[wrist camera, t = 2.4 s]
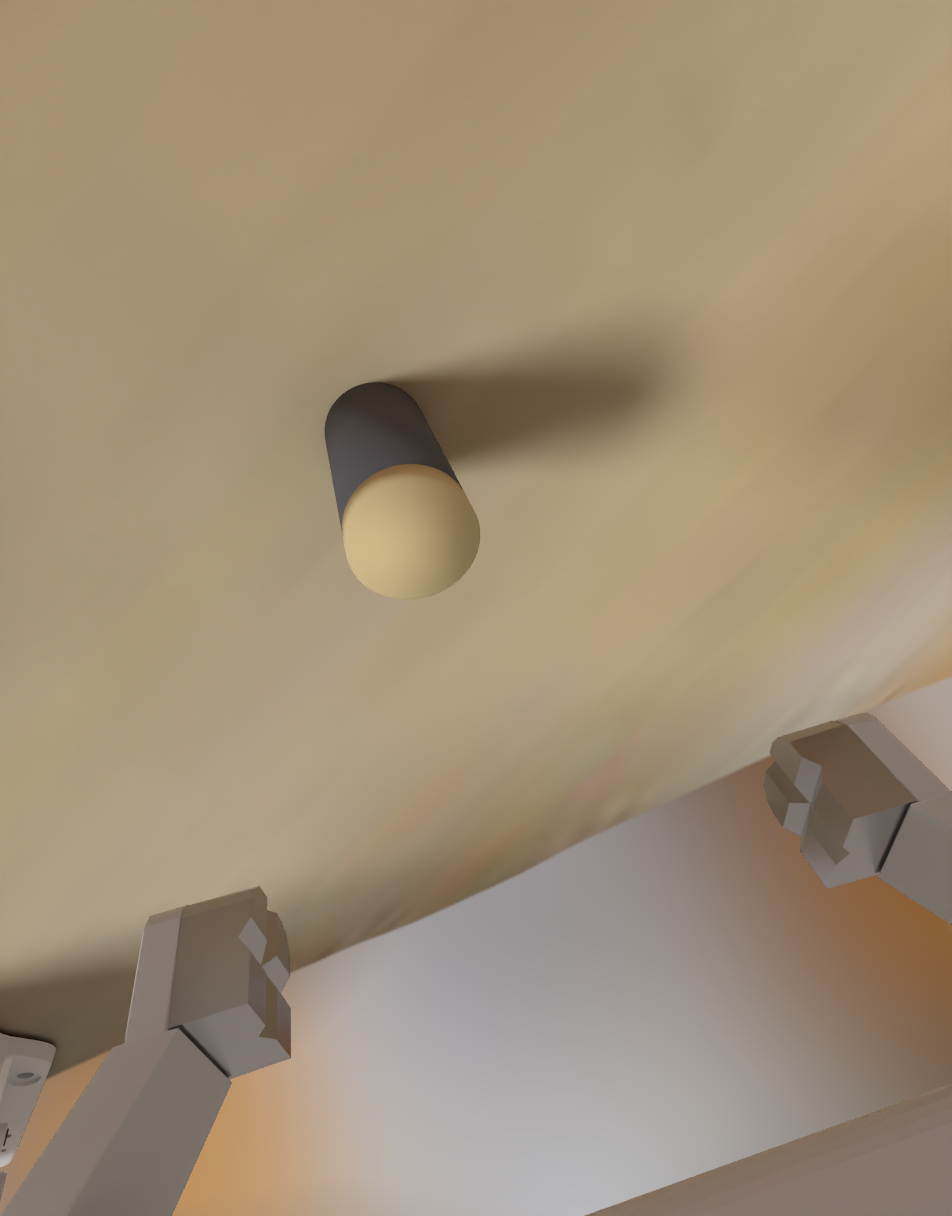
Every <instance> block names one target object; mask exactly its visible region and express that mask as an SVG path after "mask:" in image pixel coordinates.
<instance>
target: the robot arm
mask: <svg viewBox="0 0 952 1216" xmlns="http://www.w3.org/2000/svg"><path fill="white" fill-rule="evenodd" d="M770 754H771V755H772V757H773V758H774V759H775V761H774V763H773V764H772V765H771V766H770V767H769V768H768V769H767V770H766V773H765V779H764V789H765V793H766V797H767V801H768V803H769V805H770V807H771V809H772V811H773V813H774V815H775V816H776V818H777V819H778V821H779V822H780V824H781V825H782V826H783V827H784V828H785V829H787V830H789V831H791V832H793V833H795V834H797V835H799V836H800V837H801V843H800V844H801V845H800V847H801V848H800V852H801V853H802V854H803V856H804V857H805V859H806V860H807V861H808V863H809V864H810V865H811V867H812V868H813V870H814V871H815V872H816V874H817V875H818V877H819V878H820V879H821V881H822V882H823V883H824V885H825V886H826V888H827V889H829V888H832V887H836V886H839V885H843V884H846V883H850V882H853V881H857V880H860V879H864V878H867V877H871V876H874V875H878V874H879V876H878V878H880V879H881V880H882V881H884V882H886V883H887V884H889V885H890V886H892V887H893V888H895V889H897V890H898V891H900V892H901V893H903V894H904V895H906V896H907V897H909V898H911V899H912V900H914V901H915V902H917V903H918V904H920V905H922V906H923V907H925V908H926V909H928V910H929V911H931V912H932V913H934V914H936V915H937V916H939V917H940V918H942V919H943V920H945V921H946V922H948V923H950V924H951V925H952V791H950V790H949V789H948V788H947V787H946V786H945V785H944V784H943V783H942V782H941V781H940V780H939V779H938V778H937V777H936V776H935V775H934V774H933V773H932V772H931V771H930V770H929V769H928V768H927V767H925V765H924V764H923V763H922V762H921V761H920V760H919V759H918V758H917V757H916V756H914V755H913V753H911V752H910V751H909V750H908V749H907V748H906V747H905V746H904V745H903V744H902V743H901V742H900V741H899V740H898V739H897V738H896V737H895V736H894V735H893V734H892V733H891V732H890V731H889V730H888V729H887V728H886V727H885V726H884V725H883V724H882V723H881V722H880V721H879V720H878V719H877V718H876V717H874V716H872V715H870V714H868V713H860V714H856V715H853V716H849V717H846V718H843V719H840V720H836V721H830V722H827V723H823V724H820V725H817V726H813V727H810V728H807V729H804V730H800V731H797V732H794V733H791V734H787V735H784V736H781V737H778V738H777V739H776V740H774V741H773V742H772V746H771V750H770ZM289 977H290V959H289V950H288V943H287V937H286V933H285V930H284V927H283V924H282V921H281V920H280V918H279V916H278V915H277V913H275V912H272V911H268V910H267V896H266V895H265V894H264V892H263V891H262V889H261V888H260V886H257V887H254V888H250V889H247V890H243V891H239V892H236V893H232V894H229V895H225V896H221V897H218V898H214V899H211V900H207V901H203V902H200V903H196V904H192V905H187V906H183V907H180V908H176V909H173V910H170V911H166V912H163V913H159V914H156V915H152V916H150V917H149V919H148V921H147V923H146V925H145V928H144V930H143V934H142V940H141V946H140V951H139V957H138V963H137V969H136V975H135V981H134V987H133V993H132V999H131V1005H130V1011H129V1017H128V1022H127V1028H126V1034H125V1040H124V1044H121V1045H118V1046H115V1047H113V1048H112V1049H111V1051H110V1052H109V1054H108V1055H107V1057H106V1058H105V1060H104V1061H103V1063H102V1064H101V1066H100V1067H99V1069H98V1070H97V1072H96V1073H95V1075H94V1076H93V1078H92V1079H91V1081H90V1082H89V1084H88V1085H87V1087H86V1088H85V1090H84V1091H83V1093H82V1094H81V1096H80V1097H79V1099H78V1100H77V1102H76V1103H75V1105H74V1106H73V1108H72V1109H71V1111H70V1112H69V1114H68V1115H67V1117H66V1118H65V1120H64V1121H63V1123H62V1124H61V1126H60V1127H59V1129H58V1130H57V1132H56V1133H55V1135H54V1136H53V1138H52V1139H51V1141H50V1142H49V1144H48V1145H47V1147H46V1148H45V1150H44V1151H43V1153H42V1154H41V1156H40V1157H39V1159H38V1160H37V1162H36V1163H35V1165H34V1166H33V1168H32V1169H31V1171H30V1172H29V1174H28V1175H27V1177H26V1178H25V1180H24V1181H23V1183H22V1184H21V1186H20V1187H19V1189H18V1190H17V1192H16V1193H15V1195H14V1196H13V1198H12V1199H11V1201H10V1202H9V1204H8V1205H7V1207H6V1208H5V1210H4V1211H3V1213H2V1214H1V1216H172V1214H173V1212H174V1210H175V1208H176V1205H177V1203H178V1201H179V1199H180V1197H181V1194H182V1192H183V1190H184V1188H185V1185H186V1183H187V1181H188V1179H189V1177H190V1174H191V1172H192V1170H193V1168H194V1165H195V1163H196V1161H197V1159H198V1156H199V1154H200V1152H201V1150H202V1148H203V1145H204V1143H205V1141H206V1139H207V1137H208V1134H209V1132H210V1130H211V1128H212V1126H213V1123H214V1121H215V1119H216V1117H217V1114H218V1112H219V1110H220V1108H221V1106H222V1103H223V1101H224V1099H225V1097H226V1095H227V1092H228V1090H229V1088H230V1086H231V1081H230V1080H229V1079H232V1078H235V1077H237V1076H241V1075H243V1074H246V1073H249V1072H252V1071H255V1070H258V1069H260V1068H264V1067H266V1066H269V1065H272V1064H275V1063H278V1062H281V1061H284V1060H287V1059H290V1058H291V1016H290V1014H291V1012H290V1011H291V1010H290V1007H289V1005H288V1004H287V1002H286V1001H285V999H284V998H283V996H282V995H281V991H282V990H283V988H284V986H285V984H286V982H287V981H288V979H289ZM55 1053H56V1048H55V1046H53V1045H51V1044H49V1043H46V1042H42V1041H37V1040H32V1039H25V1038H19V1037H12V1036H8V1035H5V1034H2V1033H0V1167H3V1166H5V1165H7V1164H9V1163H10V1162H11V1161H12V1159H13V1157H14V1155H15V1153H16V1151H17V1148H18V1146H19V1143H20V1141H21V1138H22V1136H23V1133H24V1131H25V1129H26V1126H27V1124H28V1121H29V1118H30V1116H31V1114H32V1112H33V1109H34V1107H35V1104H36V1102H37V1099H38V1097H39V1094H40V1092H41V1090H42V1087H43V1085H44V1082H45V1080H46V1077H47V1075H48V1072H49V1070H50V1067H51V1065H52V1062H53V1059H54V1056H55ZM6 1175H7V1173H4V1172H0V1199H1V1196H2V1192H3V1188H4V1183H5V1179H6ZM585 1216H952V1084H950V1085H947V1086H944V1087H941V1088H938V1089H936V1090H933V1091H930V1092H927V1093H925V1094H922V1095H919V1096H916V1097H913V1098H911V1099H908V1100H905V1101H902V1102H900V1103H897V1104H894V1105H891V1106H888V1107H886V1108H883V1109H880V1110H878V1111H875V1112H872V1113H869V1114H866V1115H863V1116H861V1117H858V1118H855V1119H852V1120H849V1121H847V1122H844V1123H841V1124H838V1125H836V1126H833V1127H830V1128H827V1129H825V1130H822V1131H819V1132H816V1133H813V1134H811V1135H808V1136H805V1137H802V1138H800V1139H797V1140H794V1141H791V1142H789V1143H786V1144H783V1145H780V1146H777V1147H774V1148H772V1149H769V1150H766V1151H763V1152H761V1153H758V1154H755V1155H752V1156H750V1157H747V1158H744V1159H741V1160H738V1161H736V1162H733V1163H730V1164H727V1165H724V1166H722V1167H719V1168H716V1169H713V1170H711V1171H708V1172H705V1173H702V1174H699V1175H697V1176H694V1177H691V1178H688V1179H686V1180H683V1181H680V1182H677V1183H675V1184H672V1185H669V1186H666V1187H663V1188H660V1189H658V1190H655V1191H652V1192H650V1193H647V1194H644V1195H641V1196H638V1197H635V1198H633V1199H630V1200H627V1201H624V1202H621V1203H619V1204H616V1205H613V1206H610V1207H608V1208H605V1209H602V1210H599V1211H596V1212H594V1213H591V1214H588V1215H585Z"/></svg>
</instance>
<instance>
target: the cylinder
mask: <svg viewBox="0 0 952 1216" xmlns="http://www.w3.org/2000/svg"><path fill="white" fill-rule="evenodd" d="M325 440H326V446H327V451H328V457H329V462H330V468H331V474H332V479H333V485H334V490H335V496H336V501H337V507H338V513H339V518H340V524H341V529H342V535H343V540H344V546H345V552H346V557H347V560H348V563H349V566H350V568H351V570H352V571H353V573H354V574H355V576H356V577H357V578H358V579H359V580H360V581H361V583H363V584H364V585H365V586H366V587H368V588H369V589H371V590H372V591H374V592H376V593H378V594H380V595H383V596H386V597H389V598H395V599H405V600H408V599H419V598H424V597H428V596H432V595H434V594H437V593H439V592H441V591H443V590H445V589H447V588H448V587H450V586H451V585H453V584H454V583H455V582H457V581H458V580H459V579H460V578H461V577H462V576H463V575H464V574H465V573H466V571H467V570H468V569H469V567H470V566H471V564H472V563H473V561H474V559H475V556H476V554H477V551H478V547H479V542H480V527H479V522H478V519H477V516H476V514H475V512H474V510H473V508H472V506H471V504H470V502H469V500H468V498H467V496H466V494H465V493H464V491H463V489H462V487H461V485H460V483H459V481H458V479H457V478H456V476H455V474H454V472H453V470H452V468H451V466H450V464H449V462H448V461H447V459H446V457H445V455H444V453H443V451H442V449H441V447H440V446H439V444H438V442H437V440H436V438H435V436H434V434H433V432H432V431H431V429H430V427H429V425H428V423H427V421H426V419H425V417H424V416H423V414H422V412H421V410H420V408H419V406H418V405H417V403H416V402H415V401H414V400H413V399H412V397H411V396H409V395H408V394H407V393H406V392H404V391H403V390H401V389H399V388H397V387H395V386H392V385H389V384H384V383H366V384H362V385H359V386H356V387H353V388H352V389H350V390H348V391H346V392H345V393H344V394H342V395H341V396H340V397H339V398H338V399H337V400H336V402H335V403H334V404H333V406H332V407H331V409H330V411H329V413H328V416H327V419H326V423H325Z"/></svg>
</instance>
